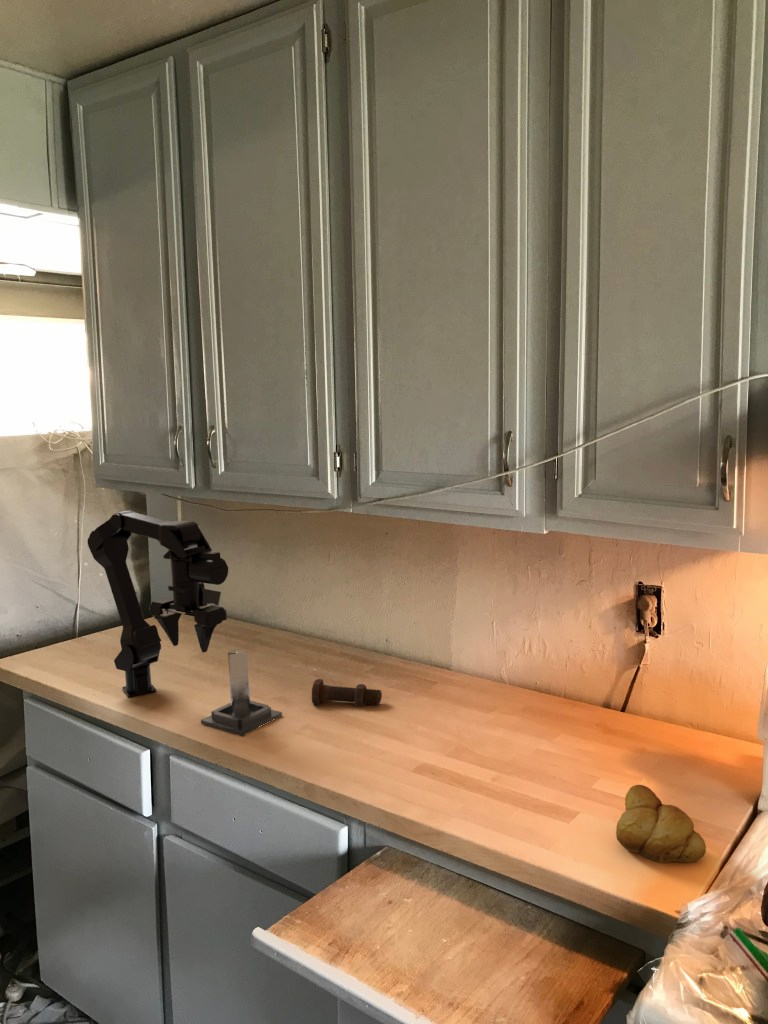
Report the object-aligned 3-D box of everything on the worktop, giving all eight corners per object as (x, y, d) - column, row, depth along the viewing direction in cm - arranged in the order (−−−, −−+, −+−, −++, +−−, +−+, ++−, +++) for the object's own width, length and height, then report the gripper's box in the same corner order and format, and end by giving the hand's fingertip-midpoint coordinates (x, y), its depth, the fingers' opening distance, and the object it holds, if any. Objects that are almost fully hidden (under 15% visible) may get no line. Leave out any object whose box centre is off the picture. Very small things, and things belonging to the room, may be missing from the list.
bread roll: (715, 853, 123) (717, 803, 122) (686, 883, 116) (688, 829, 115) (634, 823, 132) (635, 776, 130) (603, 849, 125) (604, 799, 124)
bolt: (380, 714, 183) (313, 709, 185) (383, 696, 186) (318, 691, 189) (377, 697, 179) (309, 692, 182) (381, 679, 183) (315, 674, 185)
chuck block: (200, 723, 175) (200, 713, 175) (241, 704, 185) (240, 694, 185) (242, 735, 169) (241, 725, 168) (282, 715, 178) (281, 705, 178)
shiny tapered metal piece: (232, 713, 179) (228, 649, 177) (251, 711, 179) (247, 648, 177) (231, 720, 175) (227, 655, 173) (250, 718, 175) (246, 654, 173)
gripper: (242, 576, 183) (246, 645, 185) (184, 568, 193) (188, 633, 196) (205, 587, 174) (209, 659, 176) (145, 578, 184) (150, 646, 187)
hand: (190, 648), depth 184 cm, fingers open, 9 cm apart
